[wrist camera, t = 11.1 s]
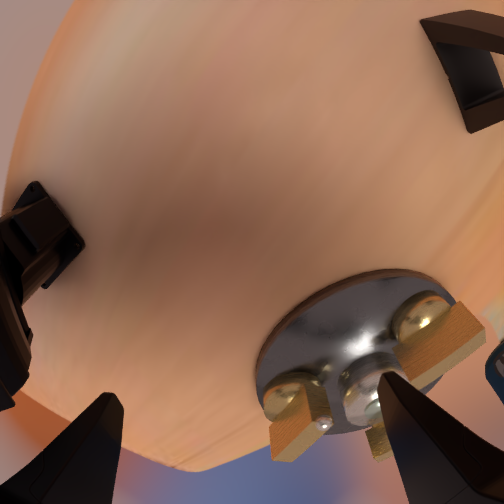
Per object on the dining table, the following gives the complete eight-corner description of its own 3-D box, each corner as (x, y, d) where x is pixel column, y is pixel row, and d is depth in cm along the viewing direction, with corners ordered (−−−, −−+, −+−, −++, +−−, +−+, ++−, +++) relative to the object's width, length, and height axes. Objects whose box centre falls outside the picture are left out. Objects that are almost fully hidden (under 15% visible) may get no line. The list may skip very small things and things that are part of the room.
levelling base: (317, 441, 31) (326, 488, 24) (207, 354, 23) (199, 424, 17) (463, 359, 26) (491, 401, 20) (426, 219, 19) (485, 261, 13)
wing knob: (300, 414, 25) (309, 468, 19) (250, 406, 24) (253, 464, 19) (339, 367, 22) (359, 426, 17) (285, 355, 21) (295, 421, 16)
